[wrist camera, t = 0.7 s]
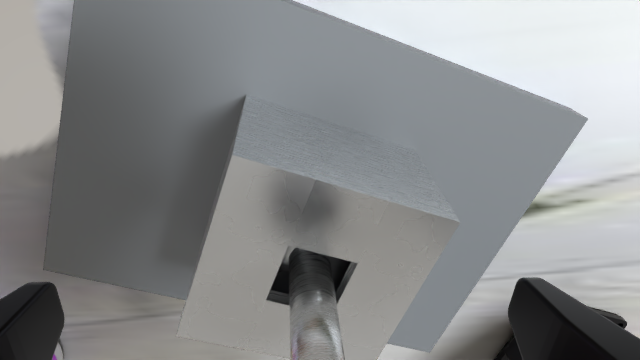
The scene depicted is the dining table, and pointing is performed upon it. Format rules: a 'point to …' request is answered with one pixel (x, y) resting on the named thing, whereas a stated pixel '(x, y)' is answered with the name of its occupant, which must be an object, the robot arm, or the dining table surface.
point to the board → (289, 91)
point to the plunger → (312, 303)
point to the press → (313, 231)
